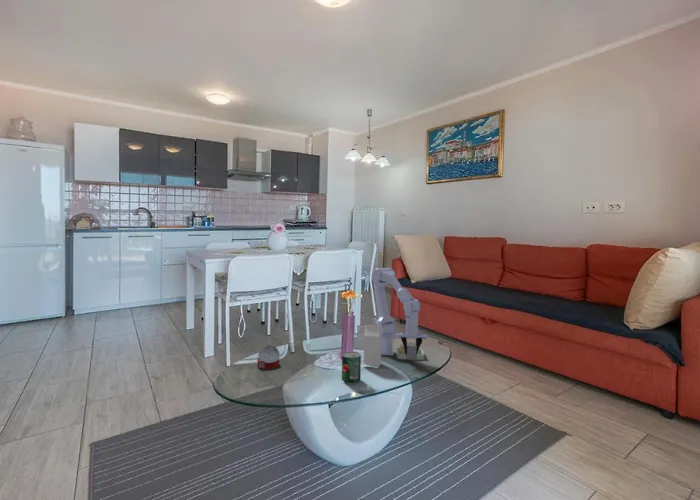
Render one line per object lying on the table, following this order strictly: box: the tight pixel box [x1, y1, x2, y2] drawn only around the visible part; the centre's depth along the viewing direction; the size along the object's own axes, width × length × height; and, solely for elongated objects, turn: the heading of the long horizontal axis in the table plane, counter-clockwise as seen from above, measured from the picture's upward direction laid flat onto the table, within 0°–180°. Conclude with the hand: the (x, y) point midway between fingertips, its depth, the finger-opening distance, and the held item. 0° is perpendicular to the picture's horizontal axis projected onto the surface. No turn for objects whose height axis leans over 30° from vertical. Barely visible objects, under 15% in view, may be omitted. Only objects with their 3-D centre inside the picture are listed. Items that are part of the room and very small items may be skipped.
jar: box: [399, 344, 405, 354], centre depth 184 cm, size 4×4×5 cm
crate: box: [395, 347, 426, 361], centre depth 184 cm, size 13×10×3 cm
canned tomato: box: [341, 351, 362, 385], centre depth 153 cm, size 8×8×11 cm
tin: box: [406, 342, 417, 360], centre depth 175 cm, size 5×5×6 cm
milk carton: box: [363, 324, 382, 368], centre depth 170 cm, size 7×7×19 cm
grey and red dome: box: [257, 344, 281, 370], centre depth 170 cm, size 11×10×10 cm
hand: (411, 353), depth 175 cm, fingers closed on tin, 4 cm apart
